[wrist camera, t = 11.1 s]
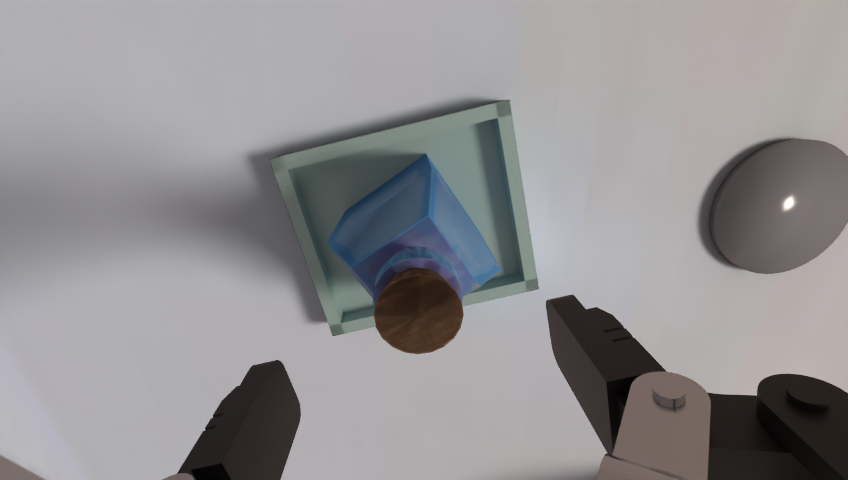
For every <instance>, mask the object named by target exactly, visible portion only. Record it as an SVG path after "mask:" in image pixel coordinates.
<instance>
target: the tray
mask: <svg viewBox="0 0 848 480" xmlns="http://www.w3.org/2000/svg"><path fill="white" fill-rule="evenodd" d="M425 154H427V155H428V157H429V158H430V160H431V161H432V163H433V164H434V166H435V167H436V169H437V170H438V172H439V173H440V174H441V176H442V177H443V179H444V180H445V182H446V183H447V185H448V186H449V188H450V189H451V191H452V192H453V194H454V195H455V196H456V198H457V199H458V201H459V202H460V204H461V205H462V207H463V208H464V210H465V211H466V213H467V214H468V216H469V217H470V218H471V220H472V221H473V223H474V224H475V226H476V227H477V229H478V230H479V232H480V233H481V235H482V237H483V238H484V240H485V242H486V244H487V245H488V247H489V249H490V251H491V252H492V254H493V256H494V258H495V259H496V261H497V263H498V265H499V266H500V268H501V271H499V272H498V273H497V274H496V275H494V276H493V277H492V278H490V279H489V280H488V281H487V282H485V283H484V284H483V285H481V286H480V287H479V288H477V289H475V290H474V291H472V292H471V293H469V294H468V295H466V296H464V297H463V301H462V307H463V306H467V305H471V304H476V303H480V302H484V301H489V300H493V299H498V298H502V297H506V296H511V295H515V294H519V293H524V292H528V291H533V290H537V289H539V287H538V281H537V274H536V268H535V261H534V255H533V248H532V242H531V235H530V229H529V223H528V216H527V210H526V203H525V197H524V190H523V184H522V178H521V171H520V165H519V158H518V152H517V145H516V139H515V132H514V126H513V120H512V113H511V107H510V100H502V101H498V102H493V103H489V104H485V105H481V106H477V107H473V108H469V109H465V110H461V111H457V112H453V113H449V114H445V115H441V116H437V117H433V118H429V119H425V120H421V121H417V122H413V123H409V124H405V125H401V126H397V127H393V128H389V129H385V130H381V131H377V132H373V133H369V134H364V135H360V136H356V137H352V138H348V139H344V140H340V141H336V142H332V143H328V144H324V145H320V146H316V147H312V148H308V149H304V150H300V151H296V152H292V153H288V154H284V155H280V156H277V157H274V158H272V159H269V161H270V163H271V166H272V169H273V172H274V174H275V177H276V180H277V183H278V186H279V188H280V191H281V194H282V197H283V199H284V202H285V205H286V208H287V210H288V213H289V216H290V219H291V222H292V224H293V227H294V230H295V233H296V235H297V238H298V241H299V244H300V247H301V249H302V252H303V255H304V258H305V260H306V263H307V266H308V269H309V272H310V274H311V277H312V280H313V283H314V285H315V288H316V291H317V294H318V296H319V299H320V302H321V305H322V308H323V310H324V313H325V316H326V319H327V321H328V324H329V327H330V330H331V333H332V335H333V336H336V335H340V334H345V333H349V332H353V331H358V330H362V329H366V328H371V327H375V326H376V324H375V319H374V311H375V309H374V304H373V298H372V297H371V296H370V295H369V294H368V292H367V291H366V290H365V289H364V288H363V286H362V285H361V284H360V283H359V282H358V280H357V279H356V278H355V277H354V276H353V274H352V273H351V272H350V271H349V270H348V268H347V267H346V266H345V265H344V263H343V262H342V261H341V260H340V259H339V257H338V256H337V255H336V254H335V253H334V251H333V250H332V249H331V248H330V247H329V245H328V244H327V241H328V239H329V238H330V236H331V234H332V232H333V231H334V229H335V227H336V226H337V224H338V222H339V221H340V219H341V217H342V216H343V214H344V212H345V211H346V210H347V209H349V208H350V207H352V206H353V205H354V204H356V203H357V202H359V201H360V200H361V199H363V198H364V197H366V196H367V195H368V194H370V193H371V192H373V191H374V190H375V189H377V188H378V187H380V186H381V185H382V184H384V183H385V182H387V181H388V180H390V179H391V178H392V177H394V176H395V175H397V174H398V173H399V172H401V171H402V170H404V169H405V168H406V167H408V166H409V165H411V164H412V163H413V162H415V161H416V160H418V159H419V158H420V157H422V156H423V155H425Z"/></svg>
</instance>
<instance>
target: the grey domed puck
mask: <svg viewBox="0 0 848 480" xmlns="http://www.w3.org/2000/svg"><path fill="white" fill-rule="evenodd" d="M847 223H848V156H847V155H846V154H845V153H844V152H843V151H842V150H840V149H839V148H837V147H836V146H834V145H832V144H829V143H826V142H823V141H817V140H807V139H788V140H782V141H778V142H775V143H772V144H769V145H767V146H764V147H762V148H760V149H759V150H757V151H755V152H753V153H752V154H750V155H749V156H748V157H746V158H745V159H744V160H743V161H741V162H740V163H739V164H738V165H737V166H736V167H735V168H734V169H733V170H732V171H731V172H730V174H729V175H728V176H727V177H726V179H725V180H724V182H723V183H722V185H721V187H720V188H719V190H718V192H717V194H716V197H715V199H714V202H713V205H712V209H711V214H710V232H711V236H712V240H713V242H714V245H715V246H716V248H717V250H718V251H719V252H720V254H721V255H722V256H723V257H724V258H725V259H727V260H728V261H729V262H731V263H733V264H735V265H737V266H739V267H741V268H743V269H745V270H748V271H751V272H755V273H763V274H772V273H780V272H785V271H788V270H792V269H794V268H797V267H799V266H802V265H804V264H805V263H807V262H809V261H811V260H812V259H814V258H815V257H817V256H818V255H820V254H821V253H822V252H823V251H825V250H826V249H827V248H828V247H829V246H830V245H831V244H832V243H833V242H834V241H835V240H836V238H837V237H838V236H839V235H840V233H841V232H842V231H843V229H844V228H845V226H846V224H847Z"/></svg>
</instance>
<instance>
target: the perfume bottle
mask: <svg viewBox="0 0 848 480" xmlns="http://www.w3.org/2000/svg"><path fill="white" fill-rule="evenodd" d="M327 244H328V245H329V247H330V248H331V249H332V250H333V251H334V253H335V254H336V255H337V256H338V257H339V259H340V260H341V261H342V262H343V263H344V265H345V266H346V267H347V268H348V270H349V271H350V272H351V273H352V274H353V276H354V277H355V278H356V279H357V280H358V282H359V283H360V284H361V285H362V286H363V288H364V289H365V290H366V291H367V292H368V294H369V295H370V296H371V297H372V298H373V304H374V309H375V311H374V319H375V324H376V328H377V330H378V332H379V333H380V335H381V337H382V338H383V339H384V340H385V341H386V342H387V343H389V344H390V345H391V346H392V347H394V348H396V349H398V350H401V351H403V352H407V353H414V354H422V353H429V352H433V351H435V350H437V349H440V348H442V347H444V346H445V345H446V344H448V343H449V342H450V341H451V340H452V339H454V337H455V336H456V334H457V332H458V331H459V329H460V328H461V324H462V319H463V308H462V301H463V297H464V296H466V295H468V294H469V293H471V292H472V291H474V290H475V289H477V288H479V287H480V286H481V285H483V284H484V283H485V282H487V281H488V280H489V279H490V278H492V277H493V276H494V275H496V274H497V273H498V272H499V271H501V268H500V266H499V265H498V263H497V261H496V259H495V258H494V256H493V254H492V252H491V251H490V249H489V247H488V245H487V244H486V242H485V240H484V238H483V237H482V235H481V233H480V232H479V230H478V229H477V227H476V226H475V224H474V223H473V221H472V220H471V218H470V217H469V216H468V214H467V213H466V211H465V210H464V208H463V207H462V205H461V204H460V202H459V201H458V199H457V198H456V196H455V195H454V194H453V192H452V191H451V189H450V188H449V186H448V185H447V183H446V182H445V180H444V179H443V177H442V176H441V174H440V173H439V172H438V170H437V169H436V167H435V166H434V164H433V163H432V161H431V160H430V158H429V157H428V155H427V154H425V155H423V156H422V157H420V158H419V159H418V160H416V161H415V162H413V163H412V164H411V165H409V166H408V167H406V168H405V169H404V170H402V171H401V172H399V173H398V174H397V175H395V176H394V177H392V178H391V179H390V180H388V181H387V182H385V183H384V184H382V185H381V186H380V187H378V188H377V189H375V190H374V191H373V192H371V193H370V194H368V195H367V196H366V197H364V198H363V199H361V200H360V201H359V202H357V203H356V204H354V205H353V206H352V207H350V208H349V209H347V210H346V211H345V212H344V214H343V216H342V217H341V219H340V221H339V222H338V224H337V226H336V227H335V229H334V231H333V232H332V234H331V236H330V238H329V239H328V241H327Z"/></svg>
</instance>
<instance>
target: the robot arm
mask: <svg viewBox="0 0 848 480" xmlns="http://www.w3.org/2000/svg"><path fill="white" fill-rule="evenodd" d="M546 309H547V316H548V323H549V330H550V337H551V344H552V349H553V353H554V356H555V359H556V362H557V364H558V366H559V368H560V370H561V372H562V373H563V375H564V377H565V379H566V380H567V382H568V384H569V386H570V387H571V389H572V391H573V393H574V395H575V396H576V398H577V400H578V402H579V403H580V405H581V407H582V409H583V410H584V412H585V414H586V416H587V418H588V419H589V421H590V423H591V425H592V426H593V428H594V430H595V432H596V433H597V435H598V437H599V439H600V441H601V442H602V444H603V446H604V448H605V449H606V451H607V453H608V454H605V455H604V457H603V459H602V462H601V465H600V468H599V471H598V475H597V478H596V480H848V393H846V392H845V391H843V390H842V389H840V388H838V387H836V386H834V385H832V384H830V383H827V382H825V381H822V380H819V379H816V378H812V377H808V376H803V375H796V374H778V375H773V376H769V377H767V378H765V379H763V380H762V381H761V382H760V383H759V385H758V390H757V396H752V395H723V394H713V393H707V392H706V391H705V389H704V388H703V387H702V386H700V385H699V384H698V383H696V382H695V381H693V380H691V379H689V378H687V377H685V376H682V375H679V374H675V373H670V372H666V371H665V370H664V368H663V367H662V366H661V365H660V364H659V363H658V362H657V361H656V360H655V359H654V358H653V357H652V356H651V355H650V354H649V353H648V352H647V351H646V350H645V349H644V347H643V346H642V345H641V344H640V343H639V342H638V341H637V340H636V339H635V338H633V337H632V335H631V334H630V333H629V332H628V331H627V330H626V329H624V327H623V325H622V324H621V323H620V322H619V321H618V320H617V319H616V318H615V317H614V316H613V315H611V314H609V313H607V312H605V311H603V310H601V309H599V308H597V307H595V308H591V309H585V308H584V307H583V305H582V304H581V303H580V302H579V301H578V300H577V298H576V297H575V296H574V295H568V296H563V297H559V298H555V299H550V300H547V301H546ZM300 416H301V411H300V404H299V400H298V398H297V395H296V393H295V391H294V388H293V386H292V384H291V381H290V379H289V377H288V374H287V372H286V370H285V367H284V365H283V364H282V362H281V361H279V360H275V361H271V362H266V363H262V364H257V365H253V366H252V367H251V368H250V369H249V371H248V373H247V374H246V376H245V378H244V379H243V381H242V383H241V385H240V386H237V387H236V388H235V389H234V390H233V391H232V392H231V393H230V394H228V395H227V396H226V397H225V398H224V399H223V400H222V402H221V403H220V405H219V407H218V408H217V410H216V411H215V413H214V415H213V418H211V419H210V421H209V423H208V424H207V426H206V428H205V429H206V430H205V431H203V432H202V434H201V436H200V437H199V439H198V441H197V442H196V444H195V445H194V447H193V449H192V450H191V452H190V453H189V455H188V457H187V458H186V460H185V462H184V463H183V465H182V466H181V468H180V470H179V471H178V473H177V474H175V475H172V476H169V477H167V478H165V479H163V480H280V479H281V476H282V473H283V470H284V467H285V464H286V461H287V458H288V455H289V452H290V449H291V446H292V443H293V440H294V437H295V434H296V431H297V428H298V425H299V422H300Z"/></svg>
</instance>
